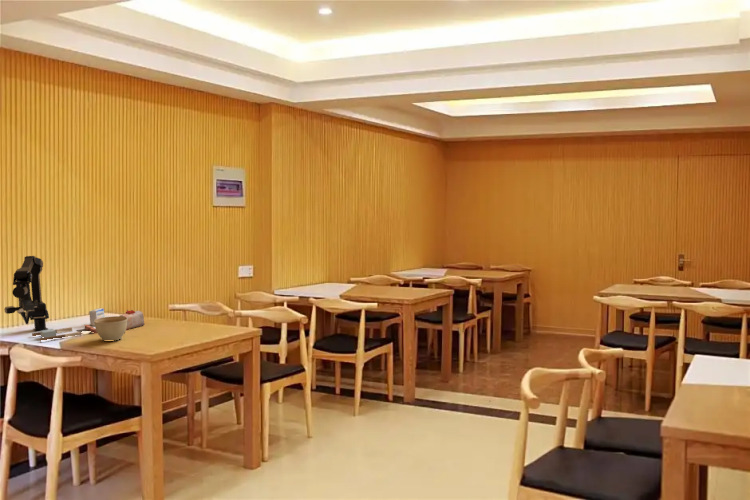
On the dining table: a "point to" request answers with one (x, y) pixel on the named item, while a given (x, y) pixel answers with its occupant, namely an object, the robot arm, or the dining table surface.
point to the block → (48, 333)
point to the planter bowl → (111, 327)
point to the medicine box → (96, 315)
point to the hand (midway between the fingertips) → (26, 324)
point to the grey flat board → (87, 328)
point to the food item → (134, 319)
